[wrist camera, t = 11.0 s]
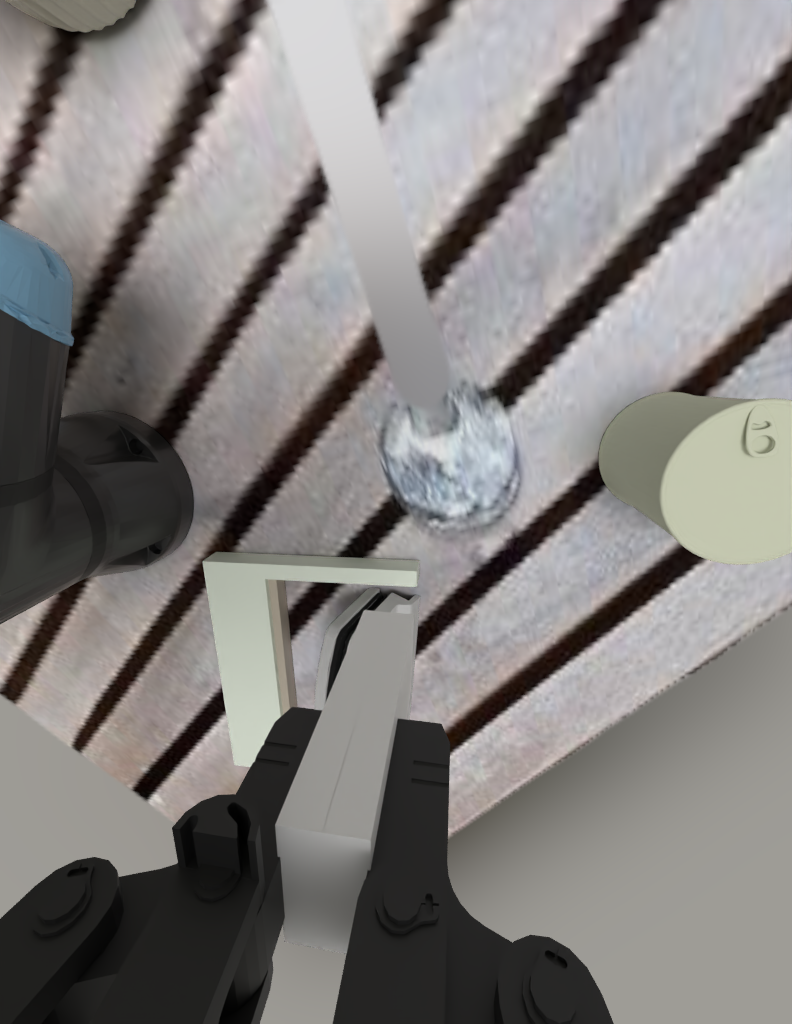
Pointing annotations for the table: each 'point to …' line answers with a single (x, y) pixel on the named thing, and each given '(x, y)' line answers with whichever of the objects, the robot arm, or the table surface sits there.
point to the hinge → (344, 630)
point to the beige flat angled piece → (271, 630)
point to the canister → (75, 12)
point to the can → (707, 472)
